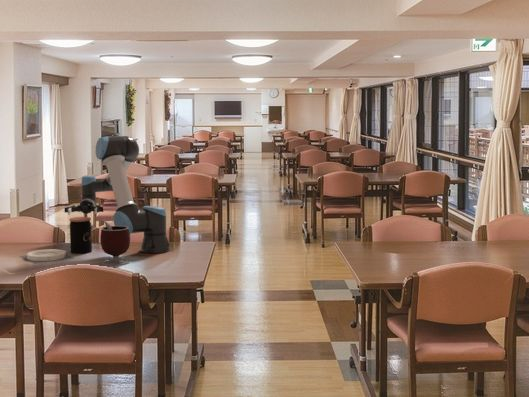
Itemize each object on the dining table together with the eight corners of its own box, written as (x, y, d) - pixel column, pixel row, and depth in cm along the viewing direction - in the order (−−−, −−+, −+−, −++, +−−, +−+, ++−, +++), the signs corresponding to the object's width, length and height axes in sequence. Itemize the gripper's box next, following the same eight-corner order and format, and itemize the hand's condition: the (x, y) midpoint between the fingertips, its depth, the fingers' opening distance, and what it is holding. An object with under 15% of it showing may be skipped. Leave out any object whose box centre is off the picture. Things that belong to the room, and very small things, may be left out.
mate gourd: (136, 262, 353) (135, 221, 350) (113, 267, 342) (112, 225, 340) (116, 258, 363) (115, 218, 360) (93, 263, 352) (91, 222, 350)
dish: (71, 257, 362) (71, 253, 362) (35, 262, 351) (34, 258, 351) (57, 252, 376) (57, 247, 376) (22, 256, 366) (22, 252, 365)
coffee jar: (86, 255, 371) (85, 220, 368) (67, 254, 373) (65, 219, 371) (95, 251, 381) (94, 217, 379) (76, 250, 383) (75, 216, 381)
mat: (74, 259, 361) (74, 258, 361) (34, 264, 349) (34, 263, 349) (57, 252, 379) (57, 251, 379) (19, 257, 367) (19, 256, 367)
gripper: (110, 212, 407) (106, 218, 386) (64, 213, 404) (58, 219, 383) (109, 199, 406) (106, 204, 385) (63, 199, 403) (57, 205, 382)
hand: (82, 211), depth 384 cm, fingers open, 13 cm apart
